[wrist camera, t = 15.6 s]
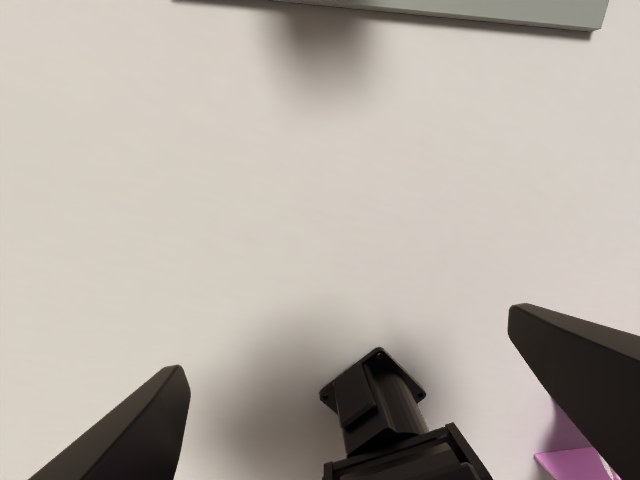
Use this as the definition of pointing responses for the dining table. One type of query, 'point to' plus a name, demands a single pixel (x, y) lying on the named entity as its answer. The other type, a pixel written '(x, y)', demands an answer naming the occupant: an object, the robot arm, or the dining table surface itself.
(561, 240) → the dining table surface
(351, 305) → the dining table surface
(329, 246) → the dining table surface
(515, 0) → the slate board
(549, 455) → the toy chair
